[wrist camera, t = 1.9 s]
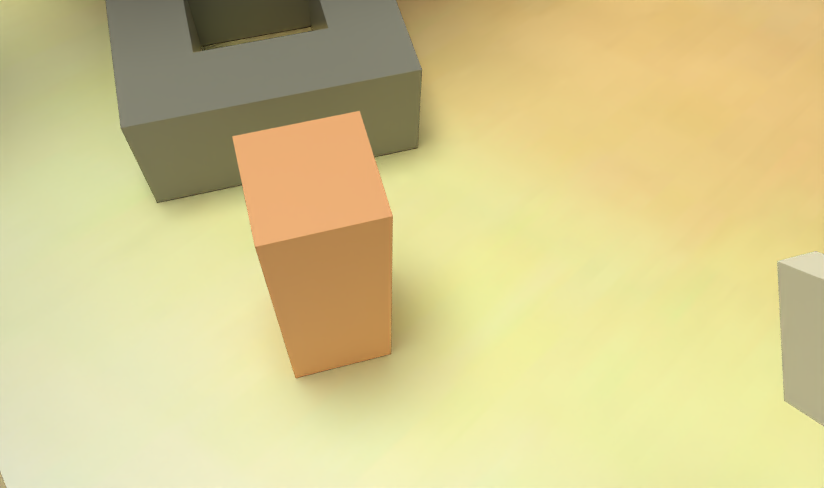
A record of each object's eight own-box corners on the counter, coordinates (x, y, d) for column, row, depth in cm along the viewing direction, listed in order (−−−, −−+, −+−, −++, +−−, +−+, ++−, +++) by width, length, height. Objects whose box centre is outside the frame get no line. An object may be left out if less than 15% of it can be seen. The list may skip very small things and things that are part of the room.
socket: (417, 147, 40) (421, 69, 35) (157, 202, 38) (120, 127, 33) (356, -26, 47) (352, -115, 42) (130, 12, 45) (96, -75, 39)
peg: (390, 353, 35) (392, 216, 24) (295, 378, 34) (255, 246, 24) (367, 270, 37) (359, 110, 26) (277, 292, 36) (232, 136, 26)
